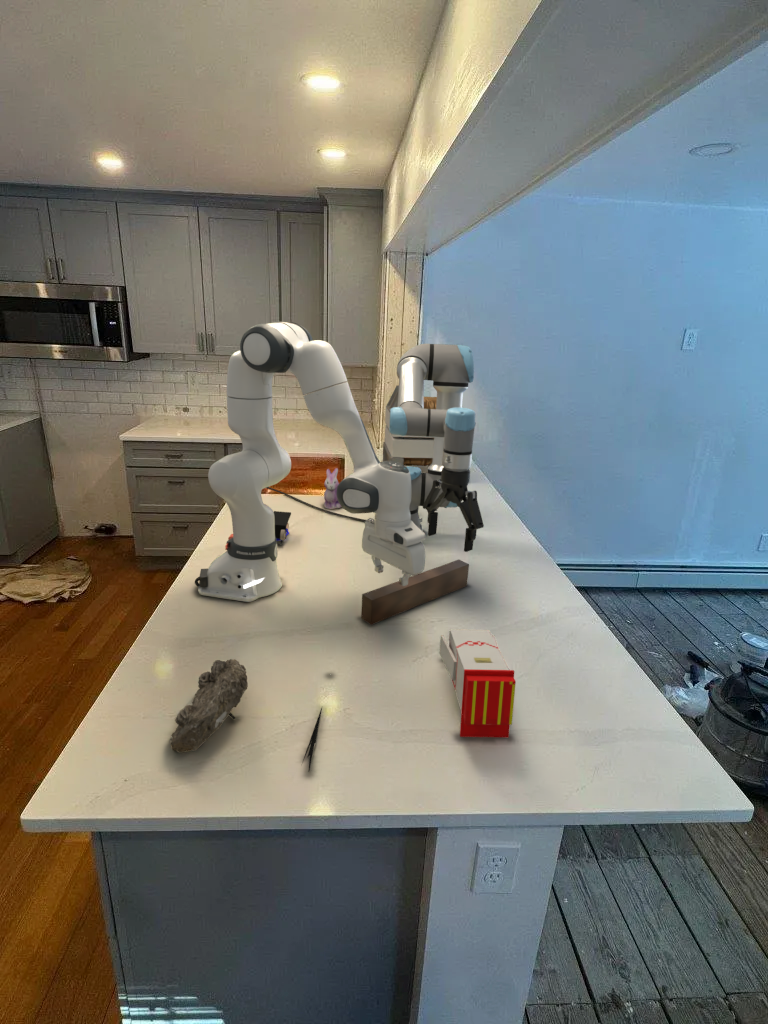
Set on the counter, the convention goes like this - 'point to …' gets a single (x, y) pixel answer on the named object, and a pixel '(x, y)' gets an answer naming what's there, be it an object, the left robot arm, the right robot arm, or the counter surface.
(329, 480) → the figurine
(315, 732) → the feather
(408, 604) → the walnut rail
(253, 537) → the left robot arm
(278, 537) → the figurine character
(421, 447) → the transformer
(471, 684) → the toy
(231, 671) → the fossil
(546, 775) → the counter surface
